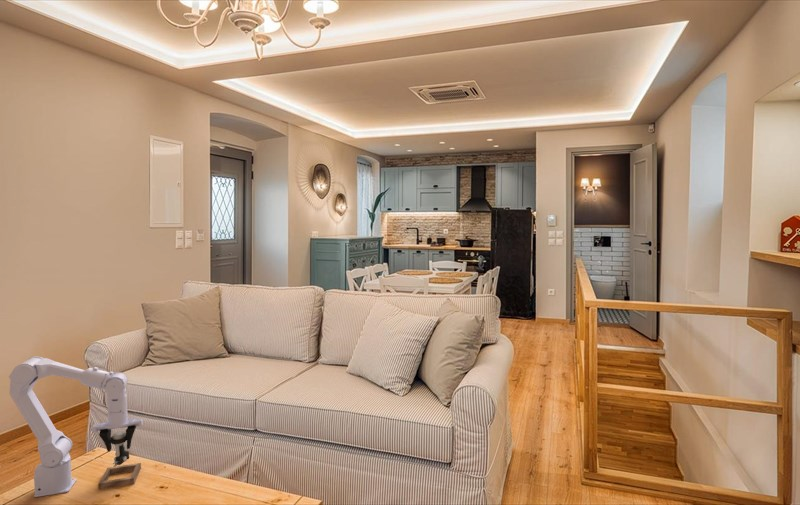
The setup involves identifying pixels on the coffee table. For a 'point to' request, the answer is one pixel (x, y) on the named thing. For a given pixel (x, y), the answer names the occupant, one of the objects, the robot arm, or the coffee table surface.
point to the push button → (120, 448)
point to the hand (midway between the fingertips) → (119, 448)
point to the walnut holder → (123, 481)
